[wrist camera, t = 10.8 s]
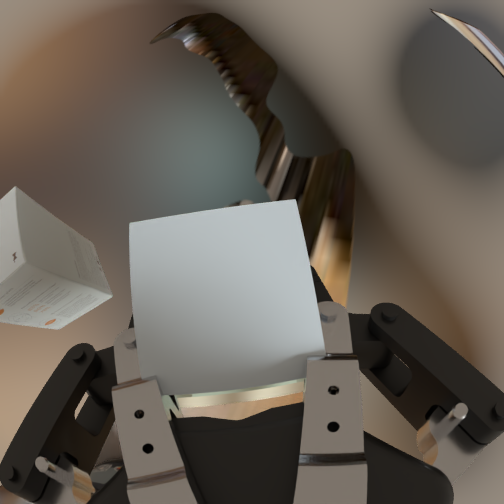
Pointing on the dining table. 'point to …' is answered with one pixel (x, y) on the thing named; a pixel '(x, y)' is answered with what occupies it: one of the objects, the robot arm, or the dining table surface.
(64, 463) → the robot arm
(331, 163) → the dining table surface
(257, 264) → the block
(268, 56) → the dining table surface
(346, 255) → the dining table surface
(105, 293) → the small box
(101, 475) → the supplement container
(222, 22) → the dining table surface
